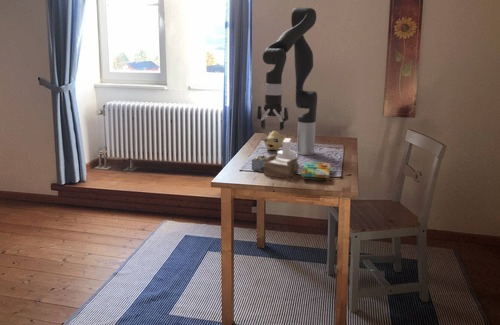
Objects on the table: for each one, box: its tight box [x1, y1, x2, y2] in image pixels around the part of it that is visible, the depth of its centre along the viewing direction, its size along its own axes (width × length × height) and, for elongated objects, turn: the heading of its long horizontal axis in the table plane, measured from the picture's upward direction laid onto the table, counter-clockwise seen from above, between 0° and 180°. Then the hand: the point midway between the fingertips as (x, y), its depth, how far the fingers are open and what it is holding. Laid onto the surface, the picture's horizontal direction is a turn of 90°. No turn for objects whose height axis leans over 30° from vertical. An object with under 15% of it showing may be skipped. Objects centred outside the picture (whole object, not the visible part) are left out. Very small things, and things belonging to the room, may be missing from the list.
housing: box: [251, 154, 268, 171], centre depth 228 cm, size 8×4×6 cm, turn 153°
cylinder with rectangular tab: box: [276, 137, 297, 160], centre depth 235 cm, size 9×9×12 cm
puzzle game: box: [301, 161, 332, 181], centre depth 216 cm, size 12×5×20 cm
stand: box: [263, 153, 299, 179], centre depth 218 cm, size 10×12×8 cm
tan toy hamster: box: [264, 130, 284, 152], centre depth 262 cm, size 10×12×11 cm
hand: (272, 129), depth 220 cm, fingers open, 8 cm apart
